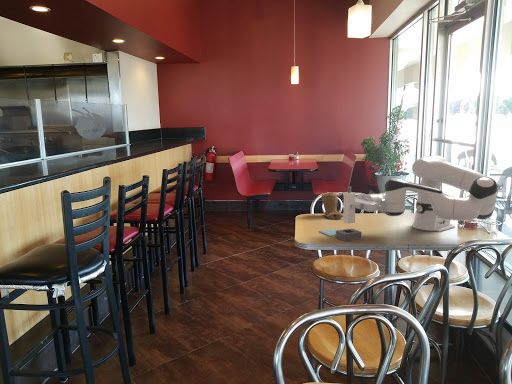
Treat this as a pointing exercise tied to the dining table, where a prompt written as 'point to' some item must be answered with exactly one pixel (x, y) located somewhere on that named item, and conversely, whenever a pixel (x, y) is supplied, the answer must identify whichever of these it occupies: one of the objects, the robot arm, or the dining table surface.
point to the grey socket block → (348, 234)
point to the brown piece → (331, 205)
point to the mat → (329, 232)
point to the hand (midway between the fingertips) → (347, 205)
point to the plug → (349, 212)
